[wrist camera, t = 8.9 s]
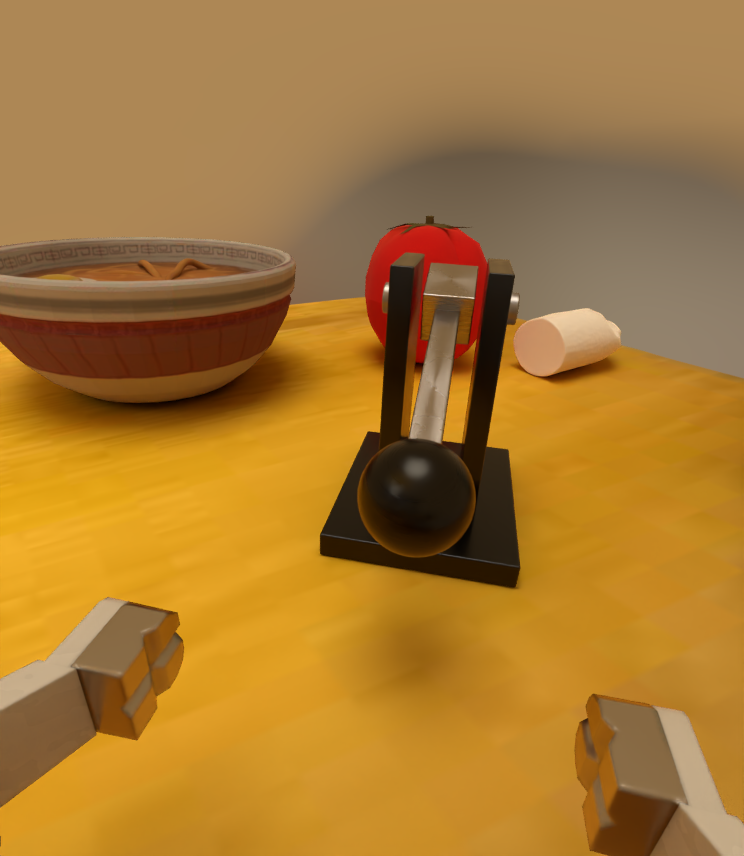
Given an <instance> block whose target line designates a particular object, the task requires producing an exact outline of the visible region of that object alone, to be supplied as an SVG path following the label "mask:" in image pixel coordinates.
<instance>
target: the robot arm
mask: <svg viewBox="0 0 744 856" xmlns="http://www.w3.org/2000/svg"><path fill="white" fill-rule="evenodd" d="M179 625H180V622H179V617H178V613H177V612H172V611H168V610H164V609H159V608H155V607H151V606H146V605H142V604H138V603H133V602H129V601H124V600H119V599H114V598H110V597H107V598H105V599H104V600H102V601H100V602H99V603H98V604H97V605H96V606H95V607H94V608H93V609H92V610H91V611H90V612H89V613H88V614H87V616H86V617H85V618H84V619H83V620H82V621H81V622H80V623H79V624H78V625H77V626H76V628H75V629H74V630H73V631H72V632H71V633H70V634H69V635H68V636H67V637H66V638H65V639H64V641H63V642H62V643H61V644H60V645H59V646H58V647H57V648H56V649H55V650H54V651H53V653H52V654H51V655H50V656H49V657H48V658H47V659H46V660H45V661H41V660H37V661H35V662H33V663H31V664H29V665H27V666H25V667H23V668H21V669H19V670H17V671H15V672H13V673H11V674H9V675H7V676H5V677H3V678H1V679H0V807H2V806H3V805H4V804H6V803H7V802H8V801H10V800H11V799H12V798H14V797H15V796H16V795H18V794H19V793H20V792H22V791H23V790H24V789H26V788H27V787H28V786H30V785H31V784H32V783H34V782H35V781H36V780H37V779H39V778H40V777H41V776H43V775H44V774H45V773H47V772H48V771H49V770H51V769H52V768H53V767H55V766H56V765H57V764H59V763H60V762H61V761H63V760H64V759H65V758H67V757H68V756H69V755H71V754H72V753H73V752H75V751H76V750H77V749H78V748H80V747H81V746H82V745H84V744H85V743H86V742H88V741H89V740H90V739H92V738H93V737H94V736H96V732H99V733H104V734H108V735H113V736H118V737H123V738H128V739H132V740H138V738H139V737H140V735H141V734H142V732H143V730H144V729H145V727H146V726H147V724H148V722H149V721H150V719H151V718H152V716H153V714H154V713H155V711H156V710H157V697H156V696H158V695H159V694H161V693H163V692H164V691H166V690H167V689H169V688H170V687H171V685H172V683H173V682H174V680H175V678H176V677H177V675H178V672H179V669H180V667H181V664H182V661H183V654H184V645H183V640H182V639H181V637H180V636H179V635H178V634H177V633H176V632H175V631H176V630H177V628H178V627H179ZM586 711H587V716H588V718H587V719H585V720H583V721H581V722H580V723H579V726H578V729H577V733H576V739H575V764H576V771H577V778H578V780H579V781H580V783H581V784H582V785H583V787H584V788H585V790H586V791H587V792H588V793H587V796H586V798H585V801H584V803H583V806H582V808H583V814H584V820H585V826H586V832H587V838H588V844H589V850H590V851H594V852H597V853H601V854H605V855H608V856H744V824H743V823H742V821H741V820H740V819H739V818H738V817H737V816H733V815H729V814H727V813H726V810H725V808H724V805H723V803H722V800H721V798H720V795H719V793H718V790H717V788H716V785H715V783H714V780H713V778H712V775H711V773H710V770H709V768H708V765H707V763H706V760H705V758H704V755H703V753H702V750H701V748H700V745H699V743H698V740H697V738H696V735H695V733H694V730H693V728H692V725H691V722H690V720H689V718H688V717H687V715H686V714H685V713H684V712H683V711H679V710H674V709H668V708H663V707H658V706H653V705H650V704H646V703H641V702H635V701H630V700H624V699H619V698H614V697H608V696H603V695H597V694H592V695H591V696H590V697H589V699H588V701H587V704H586ZM0 846H1V836H0Z"/></svg>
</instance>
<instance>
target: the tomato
mask: <svg viewBox="0 0 744 856" xmlns="http://www.w3.org/2000/svg"><path fill="white" fill-rule="evenodd" d="M433 218H434V216H426V223H425V224H414V223H407V224H403V225H400V226H396V227H397V228H396V227H394V228H395V229H392V230H391V231H390V232H389V233H387V234H386V235H385V236H384V237H383V238H382V239H381V240H380V241H379V243H378V245H377V247H376V249H375V251H374V253H373V255H372V258H371V261H370V265H369V268H368V272H367V275H366V289H365V297H366V305H367V313H368V317H369V320H370V323H371V326H372V328H373V330H374V331H375V333H376V335H377V336H378V338H379V340H380V342H381V343H382V345H383V346H384V347H385V343H386V326H387V313H383V310H382V296H383V289H384V285H385V283H386V282H389V276H390V266H391V264H393V263H394V262H395V261H396V260H397V259H398V258H399V257H401V256H402V255H403V254H404V253H406V252H408V253H421V254H424V255H425V258H424V270H423V281H422V292H421V304H420V315H419V326H418V337H417V349H416V360H415V362H416V363H424V359H425V354H426V350H427V345H428V341H424V340H421V339H420V335H421V317H422V300H423V292H424V288H425V284H426V279H427V275H428V271H429V267H430V264H431V263H442V264H455V265H468V266H478V267H479V269H478V278H477V288H476V297H475V304H474V311H473V318H472V326H471V333H470V340H469V344H468V345H464V344H456V348H455V356H454V359H457V358H458V357H460V356H461V355H462V354H464V353H465V352H466V351H467V350H468V349H469V348H470V347H471V345H472V344H473V343H474V342H475V340H476V339H477V334H478V327H479V320H480V313H481V306H482V299H483V292H484V285H485V278H486V271H487V262H486V259H485V257H484V254H483V252H482V250H481V247H480V244H479V243H478V242H476V241H475V240H473V239H472V238H470V237H469V236H467V235H466V234H465V233H463V232H462V231H461V230H459V229H458V228H464V227H453V226H449V225H445V224H436V223H434V219H433ZM404 225H406V226H404ZM465 228H466V227H465Z"/></svg>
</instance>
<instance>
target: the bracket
mask: <svg viewBox="0 0 744 856" xmlns="http://www.w3.org/2000/svg"><path fill="white" fill-rule="evenodd" d="M424 258H425V255H424V254H421V253H408V252H406V253H404V254H403V255H402V256H401V257H399V258H398V259H397V260H396V261H395V262H394V263H393V264H391V266H390V276H389V282H386V283H385V285H384V289H383V296H382V310H383V313H387V326H386V343H385V359H384V376H383V393H382V409H381V426H380V433H377V432H370V431H369V432H367V434H366V437H365V439H364V441H363V443H362V445H361V447H360V450H359V452H358V454H357V456H356V458H355V460H354V463H353V465H352V467H351V469H350V471H349V473H348V476H347V478H346V480H345V482H344V484H343V486H342V489H341V491H340V493H339V495H338V497H337V499H336V501H335V504H334V506H333V508H332V510H331V512H330V514H329V517H328V519H327V521H326V523H325V525H324V527H323V530H322V532H321V534H320V554H322V555H328V556H334V557H340V558H346V559H351V560H357V561H363V562H369V563H375V564H381V565H386V566H392V567H398V568H404V569H410V570H416V571H421V572H427V573H433V574H439V575H445V576H451V577H457V578H462V579H468V580H474V581H480V582H486V583H492V584H497V585H503V586H509V587H516V584H517V580H518V575H519V571H520V560H519V550H518V540H517V530H516V520H515V510H514V500H513V490H512V480H511V470H510V460H509V451H508V450H507V449H500V448H492V447H486V446H487V440H488V434H489V428H490V422H491V416H492V410H493V404H494V398H495V392H496V386H497V380H498V374H499V368H500V362H501V356H502V350H503V344H504V338H505V332H506V326H507V325H515V323H516V319H517V314H518V308H519V299H520V295H519V293H512V290H513V284H514V278H515V275H514V272H513V269H512V266H511V264H510V261H509V260H502V259H488V264H487V271H486V278H485V285H484V292H483V299H482V306H481V313H480V320H479V327H478V334H477V341H476V348H475V355H474V362H473V369H472V376H471V383H470V390H469V397H468V404H467V411H466V418H465V425H464V432H463V439H462V443H454V442H446V441H442V445H444V446H446V447H448V448H449V449H451V450H452V451H453V452H454V453H456V454H457V455H458V456H459V457H460V458H461V459H462V461H463V462H464V464H465V465H466V466H467V468H468V470H469V472H470V474H471V476H472V479H473V482H474V486H475V493H476V504H475V511H474V515H473V518H472V521H471V523H470V525H469V527H468V529H467V530H466V532H465V533H464V535H463V536H462V537H461V538H460V539H459V540H458V541H457V542H456V543H455V544H454V545H453V546H451V547H450V548H448V549H447V550H445V551H443V552H440V553H438V554H435V555H432V556H428V557H407V556H402V555H399V554H396V553H394V552H392V551H390V550H388V549H386V548H385V547H383V546H382V545H380V544H379V543H378V542H377V541H376V540H375V539H374V538H373V537H372V536H371V535H370V533H369V532H368V530H367V529H366V527H365V525H364V523H363V521H362V519H361V516H360V513H359V508H358V502H357V497H358V486H359V481H360V478H361V475H362V473H363V471H364V469H365V467H366V465H367V464H368V463H369V461H370V460H371V459H372V458H373V456H374V455H375V454H376V453H378V452H379V451H380V450H381V449H383V448H384V447H386V446H388V445H389V444H392V443H394V442H397V441H400V440H404V439H408V437H409V428H410V416H411V405H412V394H413V382H414V371H415V360H416V349H417V337H418V326H419V315H420V304H421V292H422V281H423V270H424Z"/></svg>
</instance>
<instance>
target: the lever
mask: <svg viewBox="0 0 744 856" xmlns="http://www.w3.org/2000/svg"><path fill="white" fill-rule="evenodd" d="M478 269H479V267H478V266H468V265H455V264H442V263H431V264H430V267H429V271H428V275H427V279H426V284H425V288H424V292H423V300H422V317H421V335H420V339H421V340H424V341H428V345H427V350H426V354H425V359H424V364H423V369H422V374H421V379H420V383H419V388H418V393H417V398H416V403H415V408H414V413H413V417H412V422H411V427H410V432H409V437H408V439H404V440H400V441H397V442H394V443H392V444H389V445H388V446H386V447H384V448H383V449H381V450H380V451H379V452H378V453H376V454H375V455H374V456H373V458H372V459H371V460H370V461H369V463H368V464H367V465H366V467H365V469H364V471H363V473H362V475H361V478H360V481H359V486H358V497H357V502H358V508H359V513H360V516H361V519H362V521H363V523H364V525H365V527H366V529H367V530H368V532H369V533H370V535H371V536H372V537H373V538H374V539H375V540H376V541H377V542H378V543H379V544H380V545H382V546H383V547H385V548H386V549H388V550H390V551H392V552H394V553H396V554H399V555H402V556H407V557H428V556H432V555H435V554H438V553H440V552H443V551H445V550H447V549H448V548H450V547H451V546H453V545H454V544H455V543H456V542H457V541H458V540H459V539H460V538H461V537H462V536H463V535H464V533H465V532H466V530H467V529H468V527H469V525H470V523H471V521H472V518H473V515H474V511H475V504H476V493H475V486H474V482H473V479H472V476H471V474H470V472H469V470H468V468H467V466H466V465H465V464H464V462H463V461H462V459H461V458H460V457H459V456H458V455H457V454H456V453H454V452H453V451H452V450H451V449H449V448H448V447H446V446H444V445H442V440H443V433H444V426H445V419H446V412H447V405H448V398H449V391H450V384H451V377H452V370H453V363H454V356H455V348H456V344H464V345H468V344H469V340H470V333H471V326H472V318H473V311H474V304H475V297H476V288H477V278H478Z"/></svg>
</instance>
